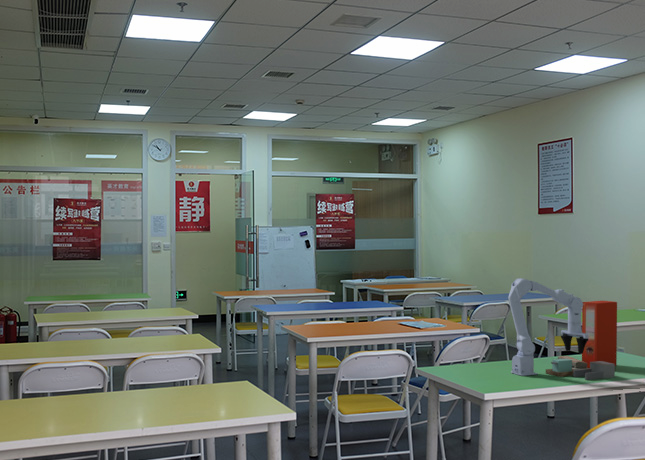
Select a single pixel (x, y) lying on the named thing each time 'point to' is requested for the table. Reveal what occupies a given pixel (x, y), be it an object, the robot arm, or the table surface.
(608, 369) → the bay
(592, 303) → the file binder
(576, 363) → the packaged product
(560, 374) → the tray
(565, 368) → the tall teal block
